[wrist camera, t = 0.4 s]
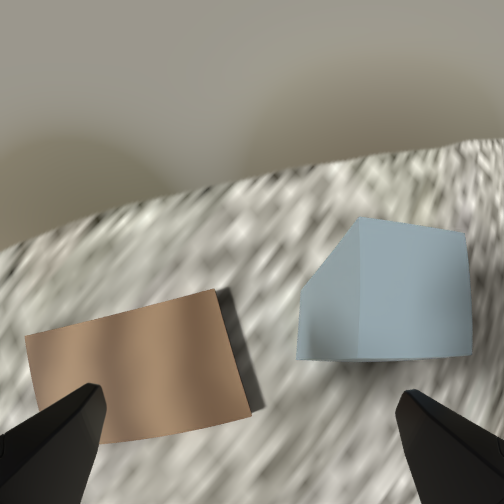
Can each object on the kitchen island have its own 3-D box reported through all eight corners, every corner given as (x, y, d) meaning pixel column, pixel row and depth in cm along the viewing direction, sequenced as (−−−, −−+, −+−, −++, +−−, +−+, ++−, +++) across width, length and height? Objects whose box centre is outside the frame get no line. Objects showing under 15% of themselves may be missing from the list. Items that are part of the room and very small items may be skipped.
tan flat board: (215, 292, 23) (214, 288, 22) (251, 413, 20) (252, 416, 19) (32, 337, 21) (24, 336, 20) (57, 444, 18) (50, 446, 17)
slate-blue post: (362, 362, 21) (472, 355, 10) (295, 359, 21) (357, 358, 10) (365, 295, 23) (464, 233, 11) (300, 290, 23) (358, 216, 11)
